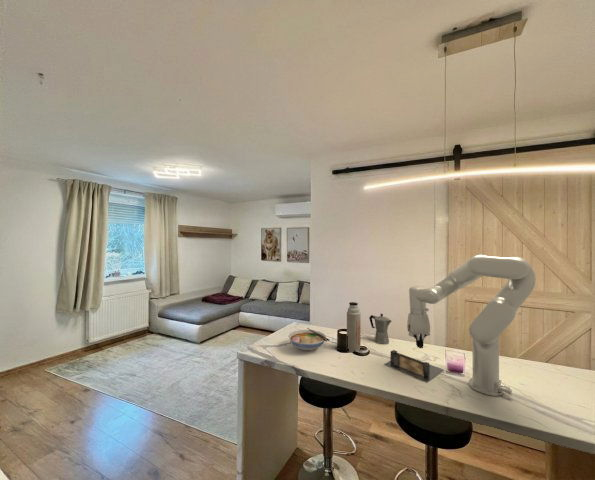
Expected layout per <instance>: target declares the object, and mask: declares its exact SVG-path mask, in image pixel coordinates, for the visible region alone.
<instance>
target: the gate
mask: <svg viewBox="0 0 595 480" xmlns="http://www.w3.org/2000/svg"><path fill="white" fill-rule="evenodd" d="M396 355H397V356H399V366H401V367H403V368H406V369H408V370H411V371H413V372H416V373H418V374H421V375H424V361H422V360H419V359H417V358H414V357H410V356H408V355H405V354H403V353H400V352H398V351H397V352H396Z"/></svg>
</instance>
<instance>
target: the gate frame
mask: <svg viewBox="0 0 595 480" xmlns="http://www.w3.org/2000/svg"><path fill="white" fill-rule="evenodd" d="M396 352H397V353H398V351H397V350H395V349H393V350H391V351H390V360H389V361H387V362H385V363H384V364H383V365H384V366H386V367H389V368H391V369H393V370H395V371H398V372H400V373H403V374H405V375H408V376H410V377H412V378H415V379H417V380H419V381H422V382H424V383H429V382H431V381H432V380H433V379H434V378H436V377H437V376H439V375H440V374H442V373H443V372H444V371H445V369H443V368H441V367H438V366H435V365H432V364H430V362H428V361H425V362H424V361H423V362H424V375H421V374H418V373H416V372H413V371H411V370H408V369H406V368H403V367H401V366H399V356H397V355H396Z"/></svg>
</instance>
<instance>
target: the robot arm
mask: <svg viewBox="0 0 595 480" xmlns="http://www.w3.org/2000/svg"><path fill="white" fill-rule="evenodd" d="M482 277H489V278H497V279H504V280H505V279H507V281H506V283H505V284H504V285H503V286H502V288H501V289H500V290H499V291H498V292H497V294H496V295H495V296H494V297H492V299H490V300H489V301H488V303H487V304H486V305H485V307H484V308H483V309H482V310H481V312H480V313H479V314H478V315H477V317H475V318H474V319H473V321H472V322H471V324H470V325H469V335H470V337H471V339H472V378H469V379H468V380H467V384H468V386H470V388H471V389H473V390H474V391H476V392H478V393H481V394H483V395H485V396H486V395H487V396H491V397H492V396H493V397H499V396H502V395H504V393H506V394H508V395H512V394H513V389H511V388H510V386H508V385H506V384H505V385H504V384H503V383H502V379H500V336H501V335H502V334H503V333H504V331H505V330H506V329H507V328H508V327H509V326H510V325H511V324H512V322H513V321H514V319H515V317H516V314H517V311H518V310H519V308H521V306H522V305H523V304H524V302H525V301H526V300H527V299H528V297H530V296H531V294H532V292H533V290H534V288H535V285H536V274H535V271H534V269H533V267H532V266H531V264H530V263H529V262H528V261H527V260H526V259H524V258H523V257H520V256H510V257H504V256H501V257H500V256H491V255H490V256H488V255H486V254H477V255H474V256H472V257H470V258H469V260H467V261H466V262H465V263H462V264H461V265H459V266H458V267H457V268H455V269H454V270H452V271H451V272H450V273H449V274H448V276H446V277H445V278H443V279H442V280H441V281H439V282H438V283H436V284H435V285H433V286H431V287H429V288H428V287H427V288H424V287H422V286H411V287H409V290H408V292H409V293H408V295H409V296H408V297H409V313H408V315H407V322H406V323H407V325H406V327H407V332H408V336H409V337H413V338H414V339H415V346H416V347H417V348H418V349H423V348H424V340H425V339H426V337H428V336H431V324H430V319H429V315H428V313H427V312H428V311H429V308H427V304H430V305H435V304H438V303H440V302H441V301H443V299H445V298H447V297H448V296H450V295H452V294H453V293H455V292H457V291H459V290H461V289H464V288H466V287H467V286H469V285H470V284H473V283H474V282H476V281H477V280H479V279H480V278H482Z"/></svg>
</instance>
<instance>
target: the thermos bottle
mask: <svg viewBox="0 0 595 480" xmlns="http://www.w3.org/2000/svg"><path fill="white" fill-rule="evenodd" d="M358 304H359V303H357V302H356V301H355V302H353V301H351V302H349V303H348V307H347V311H346V337H347V336H348V349H349V351H348V352H349V353H353V352H354V351H356V350H360V348H361V347H362V345H361V341H362V340H361V339H362V338H361V334H362V333H361V329H362V328H361V324H362V323H361V322H362V321H361V318H362V317H361V315H362V313H361V312H360V308H359V305H358ZM360 351H361V350H360Z"/></svg>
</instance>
